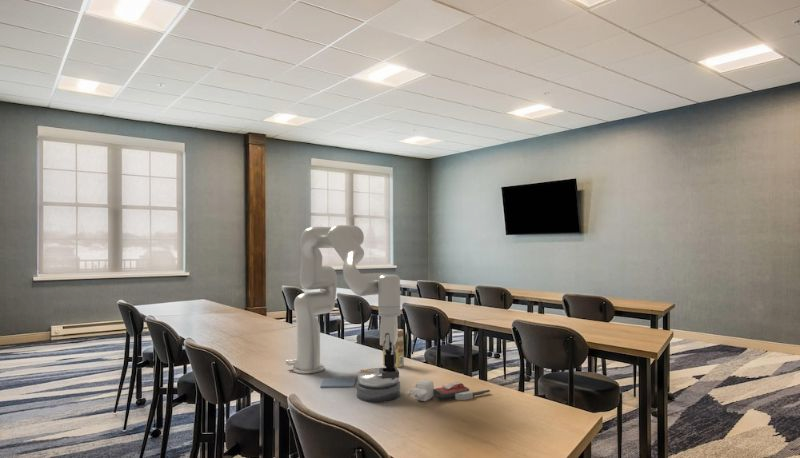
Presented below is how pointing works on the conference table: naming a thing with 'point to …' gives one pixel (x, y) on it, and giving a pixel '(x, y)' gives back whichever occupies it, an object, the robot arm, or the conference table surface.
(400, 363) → the candy box
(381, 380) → the collar
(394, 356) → the chuck key
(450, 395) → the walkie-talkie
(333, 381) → the key mat
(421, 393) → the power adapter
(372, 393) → the base
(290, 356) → the conference table surface
